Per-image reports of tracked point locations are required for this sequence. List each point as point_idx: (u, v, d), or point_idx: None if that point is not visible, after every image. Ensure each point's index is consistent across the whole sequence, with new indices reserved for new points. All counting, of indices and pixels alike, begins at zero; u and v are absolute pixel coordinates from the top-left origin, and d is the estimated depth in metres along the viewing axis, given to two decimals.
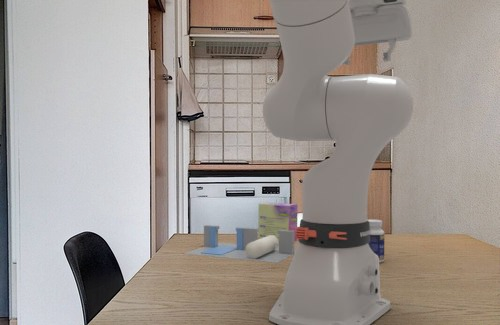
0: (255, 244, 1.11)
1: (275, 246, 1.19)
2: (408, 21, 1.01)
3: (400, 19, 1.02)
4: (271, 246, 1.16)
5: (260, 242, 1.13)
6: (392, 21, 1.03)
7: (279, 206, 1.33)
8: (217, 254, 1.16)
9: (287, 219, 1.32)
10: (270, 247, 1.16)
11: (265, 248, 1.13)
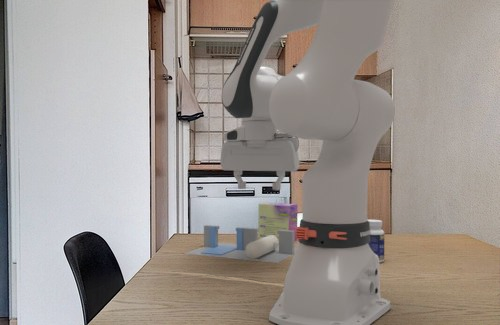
0: (255, 244, 1.11)
1: (275, 246, 1.19)
2: None
3: None
4: (271, 246, 1.16)
5: (260, 242, 1.13)
6: None
7: (279, 206, 1.33)
8: (217, 254, 1.16)
9: (287, 219, 1.32)
10: (270, 247, 1.16)
11: (265, 248, 1.13)
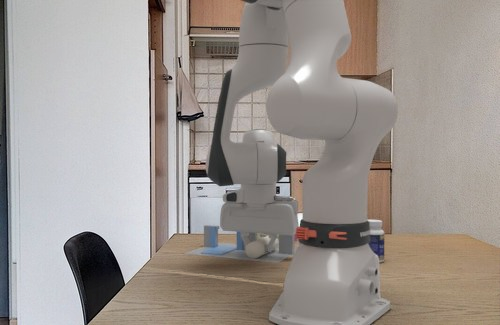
0: (255, 244, 1.11)
1: (275, 246, 1.19)
2: None
3: None
4: None
5: (260, 241, 1.13)
6: None
7: None
8: (217, 254, 1.16)
9: None
10: None
11: None
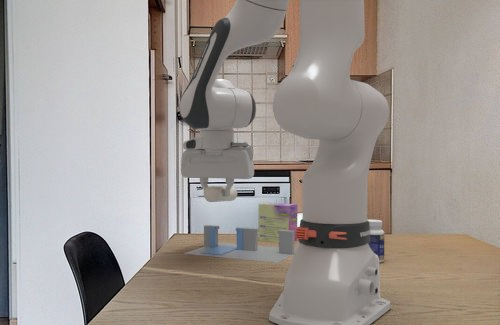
0: (214, 188, 1.16)
1: (233, 196, 1.25)
2: None
3: None
4: None
5: (219, 187, 1.18)
6: None
7: (279, 206, 1.33)
8: (217, 254, 1.16)
9: (287, 219, 1.32)
10: None
11: None
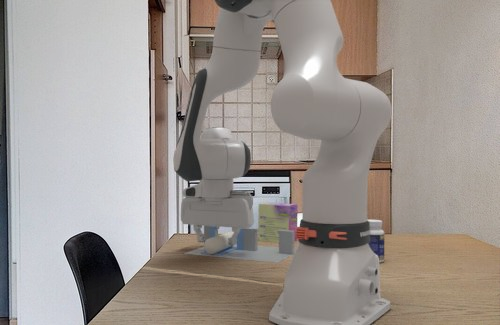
0: (214, 241, 1.15)
1: None
2: None
3: None
4: None
5: (220, 239, 1.18)
6: None
7: (279, 206, 1.33)
8: (217, 254, 1.16)
9: (287, 219, 1.32)
10: (228, 244, 1.21)
11: (223, 245, 1.18)
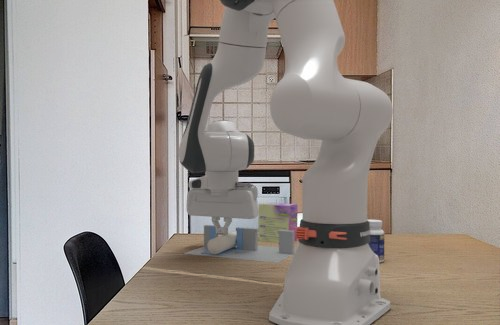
0: (219, 244, 1.15)
1: (234, 246, 1.24)
2: None
3: None
4: (231, 247, 1.21)
5: (225, 242, 1.17)
6: None
7: (279, 206, 1.33)
8: (217, 254, 1.16)
9: (287, 219, 1.32)
10: (230, 248, 1.21)
11: (225, 249, 1.17)
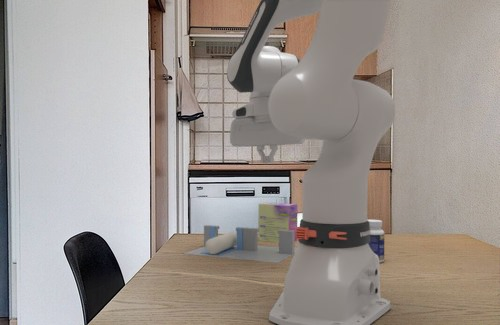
0: (217, 242, 1.15)
1: (234, 245, 1.24)
2: None
3: None
4: (230, 246, 1.21)
5: (223, 241, 1.17)
6: None
7: (279, 206, 1.33)
8: (217, 254, 1.16)
9: (287, 219, 1.32)
10: (229, 246, 1.21)
11: (224, 248, 1.17)
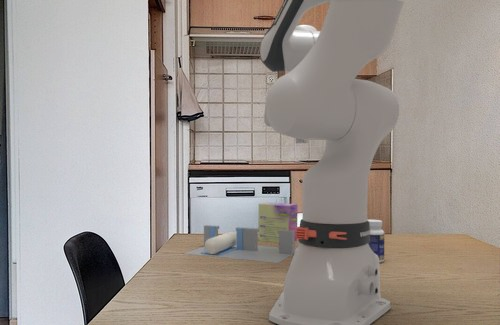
0: (215, 242, 1.15)
1: (234, 244, 1.24)
2: None
3: None
4: (230, 245, 1.21)
5: (221, 240, 1.17)
6: None
7: (279, 206, 1.33)
8: (217, 254, 1.16)
9: (287, 219, 1.32)
10: (229, 246, 1.21)
11: (223, 247, 1.17)
